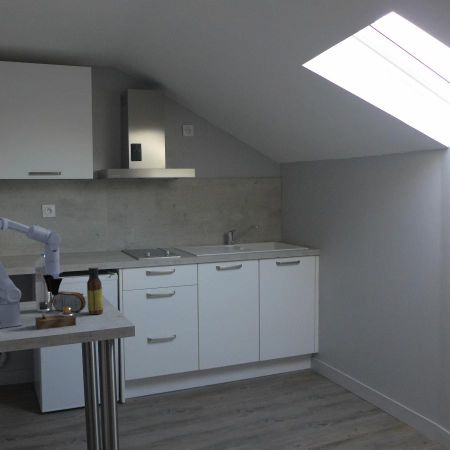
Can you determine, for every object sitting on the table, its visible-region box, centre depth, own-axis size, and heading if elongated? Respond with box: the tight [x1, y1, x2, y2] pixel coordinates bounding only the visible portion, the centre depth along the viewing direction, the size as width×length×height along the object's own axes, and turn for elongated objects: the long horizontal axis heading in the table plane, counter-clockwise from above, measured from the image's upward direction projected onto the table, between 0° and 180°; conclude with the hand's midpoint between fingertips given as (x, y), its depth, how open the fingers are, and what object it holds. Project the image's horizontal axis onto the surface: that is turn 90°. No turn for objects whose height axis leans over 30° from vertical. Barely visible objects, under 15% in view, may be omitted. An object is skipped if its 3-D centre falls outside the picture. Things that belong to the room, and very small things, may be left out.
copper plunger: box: [59, 307, 75, 317], centre depth 239 cm, size 5×5×6 cm
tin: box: [52, 290, 86, 313], centre depth 260 cm, size 15×3×8 cm, turn 74°
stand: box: [34, 314, 77, 330], centre depth 237 cm, size 14×7×3 cm, turn 119°
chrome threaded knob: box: [36, 302, 51, 319], centre depth 234 cm, size 5×5×6 cm
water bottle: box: [34, 252, 53, 313], centre depth 260 cm, size 7×7×25 cm
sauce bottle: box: [86, 266, 104, 315], centre depth 256 cm, size 7×6×20 cm
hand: (52, 293), depth 247 cm, fingers open, 7 cm apart
